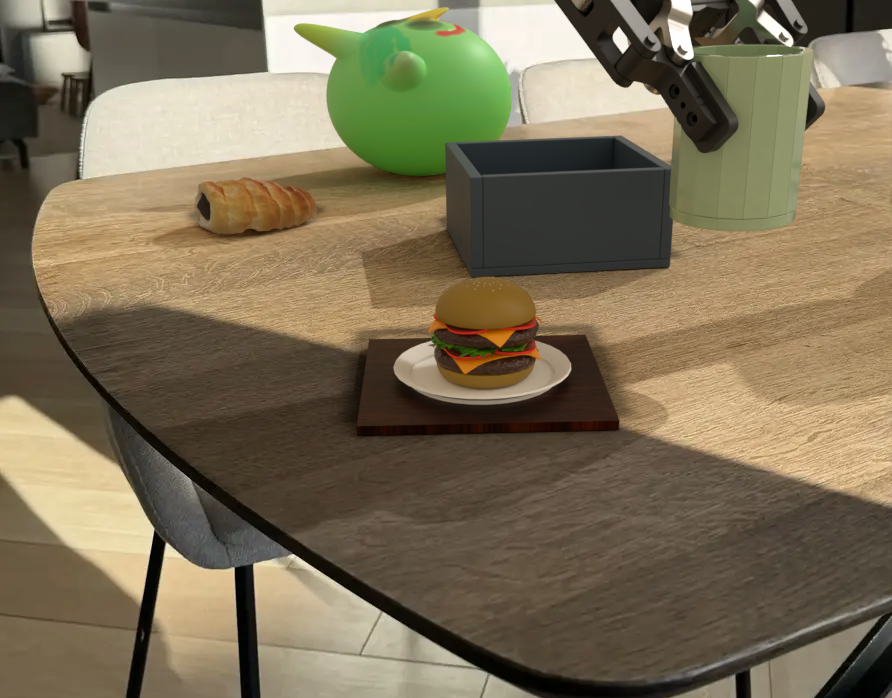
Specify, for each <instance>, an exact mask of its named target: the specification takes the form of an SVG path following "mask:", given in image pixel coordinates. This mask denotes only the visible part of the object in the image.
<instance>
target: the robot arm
mask: <svg viewBox="0 0 892 698" xmlns="http://www.w3.org/2000/svg"><path fill="white" fill-rule="evenodd" d="M553 1H554V2H555V4H556V5H557V6H558V8H559V9H560V10H561V12H562V13H563V15H564V16H565V18H567V20H568V21H569V23H570V24H571V25H572V27H573V28H574V29H575V31H576V32H577V33H578V35H579V37H580V38H581V40H583V42H584V43H585V44H586V46H587V47H588V49H589V50H590V52H591V53H592V54H593V55H594V57H595V58H596V60H597V61H598V62H599V64H600V65H601V66H602V68H603V69H604V71H605V72H606V73H607V74H608V77H609V78H610V79H611V80H612V81H613V82H614V84H616V85H617V86H619V87H620V88H624V89H628V88H630V87H631V86H632V84H633V83H634V82H636V83H641V84H642V85H643V86H644V88H645V89H646V90H647V91H648V92H649V93H651V94H652V95H656V96H661V98H662V99H663V101H664V103H665V104H666V105H667V107H668V108H669V111H670V112H671V113H672V115H673V117H674V116H675V117H676V120H677V121H678V123H679V124H681V127H682V129H683V131H684V132H685V134H686V135H687V136H688V137H689V138H690V139H691V140H692V141H693V143H694V144H695V146H696V148H697V149H698V150H699V151H700V152H701V153H709V152H713V151H717V150H718V149H719V148H720V147H721V146H722V145H723V144H724V143H725V142H726V141H727V140H728V139H729V138H730V137H731V136H732V135H733V134H734V133H735V132H736V131H737V129H738V125H739V122H738V118H737V116H736V115H735V113H734V112H733V110H732V109H731V107H730V106H729V104H728V103H727V101H726V100H725V98H724V97H723V95H722V94H721V92H720V90H719V89H718V87H717V86H716V84H715V83H714V81H713V80H712V78H711V77H710V75H709V74H708V72H707V71H706V70H705V68H704V66H703V65H702V64H701V62H700V61H699V62H692V63H689V62H690V61H691V59H692V58H693V57H694V52H693V48H692V46H693V44H692V43H693V42H692V39H693V40H695V41H696V42H697V43H698V44H699V45H700V46H703V45H717V44H746V43H745V42H744V41H742V40H741V39H740V37H739V35H740V34H741V33H742V32H743V31H744V33H745V35H746V37H747V39H749V41H750V44H777V45H791V46H796V44H797V43H798V42H799V41H801V40H802V39H803V38H804V36H805V35H806V34H807V33H808V31H809V30H808V25H807V24H806V22H805V21H804V19H803V17H802V16H801V14H800V12H799V10H798V9H797V8H796V5H795V4H794V1H792V0H553ZM729 9H731V10H732V13H733V14H734V16H733V17H732V18H731V19H730V21H728V22H727V24H726V25H725V26H723V27H722V28H717V27H714V26H715V25H717V23H718V22H719V21H720V19H722V17H723V16H724V15H725V14H726V12H727V11H728V10H729ZM773 13H774V15H775V16H776V18H777V20H778V22H777V20H776V19H774V18H773V17H772V16H771V15H772V14H773ZM618 29H620V30H621V32H622V33H623V35H624V36H625V38H626V41H627V46H628V47H627V48H626V49H625V50H624V52H622V51H621V49H620V48H619V47H618V45H617V44H616V43H615V40H614V34H615V32H616V31H617V30H618ZM825 111H826V104H825V101H824V99H823V98H822V96H821V95H820V94H819V92H818V90H817V89H816V87H815V86H814V84H813V83H812V81H810V87H809V97H808V106H807V115H806V124H805V132H806V131H807V130H808V129H809V128H810V127H812V125H813V124H814V123H816V122H817V121H818V120H819V119H820V117H822V116H823V115H824V113H825Z"/></svg>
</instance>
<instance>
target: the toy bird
mask: <svg viewBox="0 0 892 698" xmlns="http://www.w3.org/2000/svg"><path fill="white" fill-rule="evenodd" d="M448 10H450V8H449V7H448V6H447V7H446V6H445V7H438V8H433V9H430V10H426V11H423V12H420V13H416V14H414V15H411V16H407V17H405V18H400V19H391V20H388V21H384V22H381V23H379V24H377V25H376V26H374V27H372V28H369V29H368V30H366V31H364V32H360V31H353V30H348V29H342V28H338V27H332V26H327V25H322V24H315V23H307V22H304V23H303V22H302V23H301V22H300V23H297V24H295V25H294V26H293V30H294V32H295V33H296V34H297V35H298V36H299V37H301V38H303V39H304V40H305V41H307V42H309V43H310V44H313V45H314V46H316V47H317V48H319V49H320V50H322V51H323V52H325V53H328V54H329V55H331V56H332V57H333V58H334V59H335V60H334V62H333V64H332V66H331V69H330V72H329V75H328V79H327V83H326V91H325V93H326V95H325V99H326V108H327V113H328V116H329V119H330V121H331V124H332V126H333V128H334V130H335V132H336V134H337V136H338V137H339V138H340V140H341V141H342V143H343V144H344V145H345V146H346V147H347V148H348V149H349V150H350V151H351V152H352V153H353V154H354V155H356V156H357V157H358V158H359V159H361V160H362V161H364V162H365V163H367V164H369V165H371V166H373V167H375V168H378V169H379V170H382V171H384V172H387V173H390V174H391V173H392V174H396V175H400V176H408V177H409V176H411V177H428V176H429V177H430V176H438V175H444V174H446V163H445V143H446V142H455V143H456V142H470V141H495V140H501V137H502V136H503V134H504V133H505V130H506V128H507V125H508V123H509V120H510V117H511V112H512V106H513V90H512V84H511V80H510V76H509V74H508V71H507V69H506V66H505V63H504V62H503V61H502V59H501V57H500V56H499V54H498V53H497V52H496V50H494V48H493V47H492V46H491V45H490V44H489V43H488V42H487V41H486V40H485V39H483V38H482V37H481V36H480V35H478V34H477V33H475V32H473V31H472V30H470V29H468V28H466V27H464V26H461V25H458V24H456V23H453V22H449V21H445V20H440V19H439V18H440V17H441V16H442V15H444V14H445V13H447V12H448Z"/></svg>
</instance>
